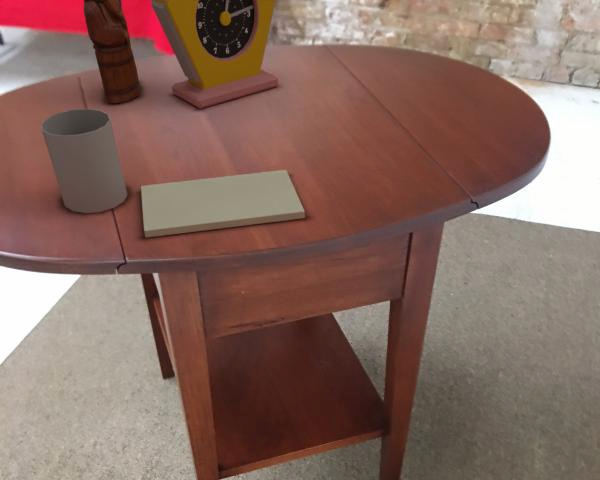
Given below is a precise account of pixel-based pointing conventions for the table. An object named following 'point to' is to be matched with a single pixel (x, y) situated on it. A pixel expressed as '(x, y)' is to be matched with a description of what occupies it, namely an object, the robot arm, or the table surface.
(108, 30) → the wooden figurine
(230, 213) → the mat
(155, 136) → the table surface
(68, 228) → the table surface
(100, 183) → the cup
